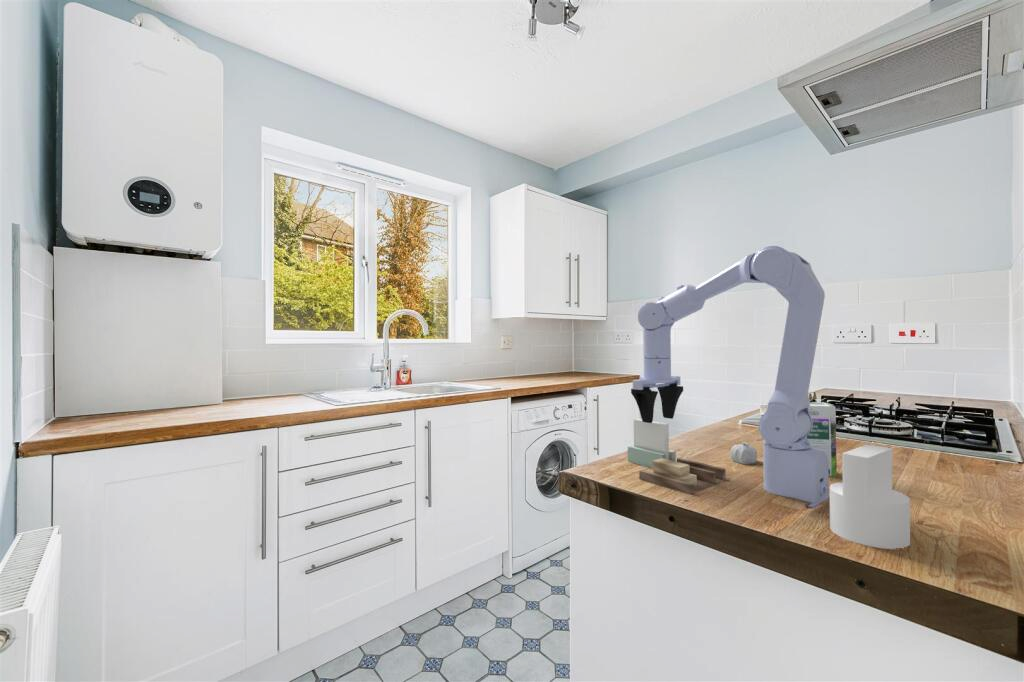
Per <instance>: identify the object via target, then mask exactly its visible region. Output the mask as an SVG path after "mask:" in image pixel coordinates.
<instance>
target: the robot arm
mask: <svg viewBox="0 0 1024 682" xmlns="http://www.w3.org/2000/svg"><path fill="white" fill-rule="evenodd" d="M745 283H747V284H750V283H753V284H766V285H768V286H770V287H772V288H774V289H775V290H776V291H777V292H778V293H779V294H780V295H781V296H782V297H783V298H784V299H785V300H786V301H787V303H788V307H787V313H786V321H785V326H784V331H783V337H782V344H781V351H780V356H779V362H778V367H777V368H778V369H777V374H776V380H775V386H774V390H773V393H772V394H771V397H770V399H769V400H768V404H767V408H766V411H765V413H764V414H763V415H762V416H761V417H760V419H759V422H758V431H759V434H760V435H761V437H762V439H763V440H762V449H763V450H762V451H763V453H762V456H763V465H762V467H763V470H762V471H763V489H764V491H766V492H768V493H769V494H773V495H777V496H780V497H787V498H791V499H796V500H801V501H804V502H809V503H808V504H806V505H805V507H808V508H815V507H817V506H819V505H820V504H822V503H823V502H825V501H827V500H828V499H830V487H829V476H828V459H827V456H826V454H825V453H824V452H821V451H817V450H814V449H812V448H810V443H809V441H808V439H807V438H806V436H807V435H808V434H809V433H810V432H811V430H812V427H813V421H812V418H811V416H810V412H809V407H810V402H811V399H810V396H809V389H810V383H811V378H812V372H813V367H814V360H815V355H816V350H817V349H816V348H817V343H818V340H819V339H818V337H819V334H820V333H819V332H820V325H821V320H822V315H823V309H824V304H825V303H824V302H825V298H826V297H825V295H826V294H825V291H824V288H823V287H822V285H821V283H820V282H819V280H818V278H817V276H816V274H815V273H814V271H813V269H812V266H811V263H810V262H809V261H807V260H806V259H804V258H803V257H802V256H801V255H799V254H798V253H795V252H791V251H789V250H787V249H785V248H783V247H782V246H778V245H770V246H765V247H763V248H761V249H760V250H758V251H757V252H753V253H751V254H747V255H746V256H745V257H743V258H742V259H740V260H739V261H737V262H736V263H734V264H733V265H730V266H729V267H727V268H725V269H724V270H722V271H720V272H719V273H717V274H715V275H714V276H712V277H710V278H708V279H707V280H705V281H703V282H702V283H700V284H698V285H697V286H695V285H692V284H687V285H685V284H680V285H679V286H677V287H676V289H677V290H676V291H674V292H672V293H670V294H669V295H666V296H665V297H664V296H660V297H658V298H657V302H653V301H649V302H646V303H645V304H644V305H642V306H641V307H640V309H639V310H638V313H637V321H638V324H640V326H641V327H642V337H643V338H642V339H643V340H642V342H643V345H642V347H643V348H642V349H643V351H642V353H643V354H642V355H643V376H641V377H639V379H633V380H632V388H630V391H631V392H630V393H631V395H632V397H633V398H634V399H635V402H636V405H637V407H638V410H639V415H640V417H641V418H640V419H642V422H646V423H652V421H654V410H655V403H656V398H657V396H658V394H659V398H660V402H661V412H662V416H663V418H664V419H671V420H672V419H674V416H675V412H676V408H677V405H678V401H679V400H680V396H681V395H682V394H683V392H684V386H683V385H681V376H679V375H672V352H671V351H672V350H671V349H672V348H671V347H672V345H671V344H672V342H671V340H672V339H671V335H672V334H671V331H672V330H671V329H672V327H673V326H674V324H675V323H676V322H678V321H679V320H680V321H681V320H682V319H684V318H687V317H689V316H690V315H692V314H694V313H696V312H699V311H700V310H702V309H703V307H704V305H705V303H706V301H707V300H709V299H711V298H714V297H715V296H718V295H720V294H722V293H724V292H727V291H728V290H731V289H733V288H735V287H738V286H740V285H742V284H745ZM652 388H657V391H656V390H652Z"/></svg>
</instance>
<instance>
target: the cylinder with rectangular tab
mask: <svg viewBox="0 0 1024 682" xmlns="http://www.w3.org/2000/svg"><path fill="white" fill-rule="evenodd" d="M841 459H842V460H841V461H842V482H836V483H831V484H830V485H829V495H830V498H829V529H830V531H832V533H834V534H835V535H837V536H838V537H840V538H842V539H844V540H847V541H850V542H852V543H856V544H860V545H863V546H868V547H872V548H877V549H886V550H897V549H896V548H902V549H905V548H904V547H906V548H908V547H907V546H909V547H910V545H911V499H910V497H908V496H907V495H906V494H904V493H902V492H899V491H897V490H895V489H893V448H891V447H886V446H881V445H874V444H865V445H862V446H859V447H856V448H853V449H850V450H847V451H844V452H842V458H841ZM894 548H895V549H894Z"/></svg>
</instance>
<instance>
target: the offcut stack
mask: <svg viewBox="0 0 1024 682" xmlns="http://www.w3.org/2000/svg"><path fill="white" fill-rule="evenodd" d="M652 471H653V472H652V473H655V474H659V475H662V476H666V477H669V478H673V479H677V480H680V481H684V482H687V483H691V484H694V486H695V485H697V475H694V474H690V465H688V464H684V463H680V462H677V460H676V461H672V460H667V459H663V458H661V459H657V460H654V461H653V468H652Z"/></svg>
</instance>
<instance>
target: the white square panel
mask: <svg viewBox="0 0 1024 682" xmlns="http://www.w3.org/2000/svg"><path fill="white" fill-rule="evenodd" d="M669 425H670V424H669V423H665V422H659V421H654V420H653V421H652V423H646V422H642V418H635V419H633V446H634V447H638V448H643V449H647V450H651V451H655V452H660V453H664V454H666V459H667V460H669V450H670V440H669V439H670V436H669V434H670V431H669V429H670V427H669Z"/></svg>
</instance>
